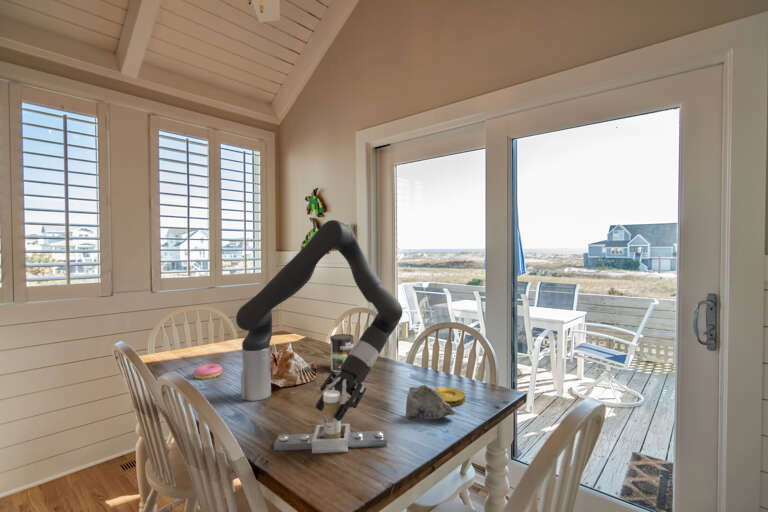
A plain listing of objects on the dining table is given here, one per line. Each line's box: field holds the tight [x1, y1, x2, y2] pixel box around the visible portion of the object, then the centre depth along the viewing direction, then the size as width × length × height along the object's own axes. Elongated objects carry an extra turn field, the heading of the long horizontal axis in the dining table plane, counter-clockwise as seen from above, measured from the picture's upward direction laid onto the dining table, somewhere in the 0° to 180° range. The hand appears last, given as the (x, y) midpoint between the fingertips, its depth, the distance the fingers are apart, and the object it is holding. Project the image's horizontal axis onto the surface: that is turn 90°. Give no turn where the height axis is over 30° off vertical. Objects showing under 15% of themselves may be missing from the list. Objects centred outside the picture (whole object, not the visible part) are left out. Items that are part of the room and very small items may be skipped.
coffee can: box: [329, 333, 355, 373], centre depth 161 cm, size 10×10×14 cm
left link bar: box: [273, 432, 315, 452], centre depth 98 cm, size 10×5×2 cm, turn 92°
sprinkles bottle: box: [323, 390, 342, 439], centre depth 98 cm, size 5×5×14 cm
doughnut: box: [193, 363, 223, 380], centre depth 156 cm, size 11×11×4 cm
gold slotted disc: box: [432, 386, 466, 406], centre depth 126 cm, size 12×12×2 cm
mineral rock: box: [405, 384, 456, 420], centre depth 111 cm, size 13×11×10 cm
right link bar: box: [348, 430, 388, 448], centre depth 99 cm, size 10×5×2 cm, turn 92°
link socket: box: [311, 423, 351, 454], centre depth 98 cm, size 9×9×3 cm
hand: (326, 414), depth 97 cm, fingers open, 8 cm apart
